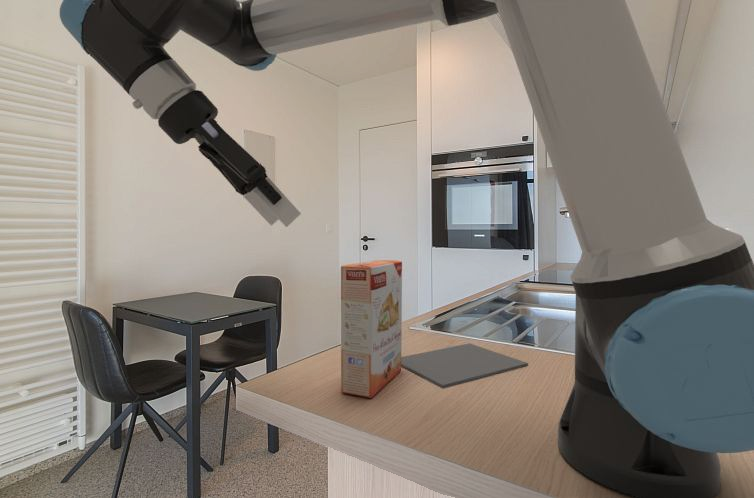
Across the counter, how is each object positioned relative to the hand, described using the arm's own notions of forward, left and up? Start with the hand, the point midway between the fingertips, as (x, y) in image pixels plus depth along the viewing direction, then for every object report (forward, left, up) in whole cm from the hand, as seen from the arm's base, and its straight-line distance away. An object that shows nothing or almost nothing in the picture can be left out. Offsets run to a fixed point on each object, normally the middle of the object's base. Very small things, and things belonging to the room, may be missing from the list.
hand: (284, 220), depth 61 cm
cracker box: (-1, -15, -28) cm, 32 cm away
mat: (-1, -34, -28) cm, 44 cm away
